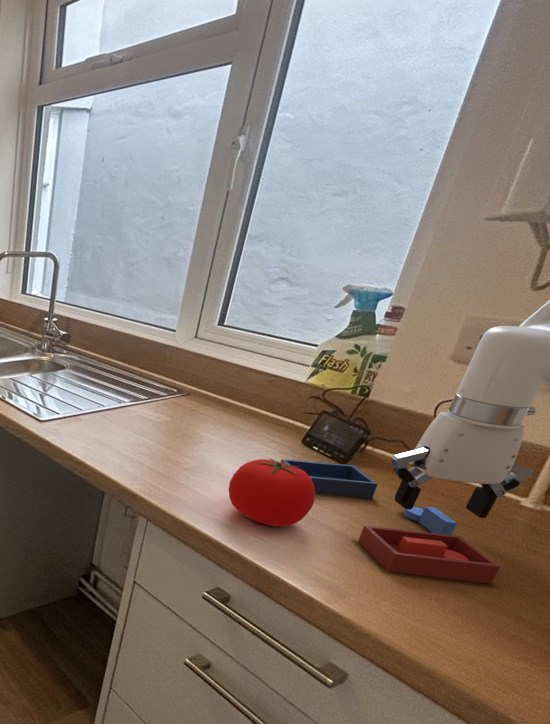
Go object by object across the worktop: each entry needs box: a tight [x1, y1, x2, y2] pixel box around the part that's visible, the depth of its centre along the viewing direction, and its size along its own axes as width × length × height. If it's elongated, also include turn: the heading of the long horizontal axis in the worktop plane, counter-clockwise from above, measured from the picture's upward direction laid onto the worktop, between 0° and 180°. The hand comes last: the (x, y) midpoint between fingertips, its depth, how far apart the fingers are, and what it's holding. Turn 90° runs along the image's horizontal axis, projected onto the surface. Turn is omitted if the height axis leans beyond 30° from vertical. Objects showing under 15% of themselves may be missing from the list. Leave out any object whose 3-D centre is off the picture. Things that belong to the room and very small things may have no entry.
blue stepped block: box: [403, 506, 458, 535], centre depth 87 cm, size 8×3×3 cm, turn 167°
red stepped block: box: [397, 537, 469, 561], centre depth 78 cm, size 8×3×3 cm, turn 76°
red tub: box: [357, 525, 501, 585], centre depth 78 cm, size 12×8×3 cm, turn 76°
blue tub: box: [280, 458, 379, 499], centre depth 100 cm, size 12×8×3 cm, turn 76°
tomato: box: [228, 457, 316, 527], centre depth 88 cm, size 11×12×10 cm
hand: (438, 509), depth 85 cm, fingers open, 9 cm apart
